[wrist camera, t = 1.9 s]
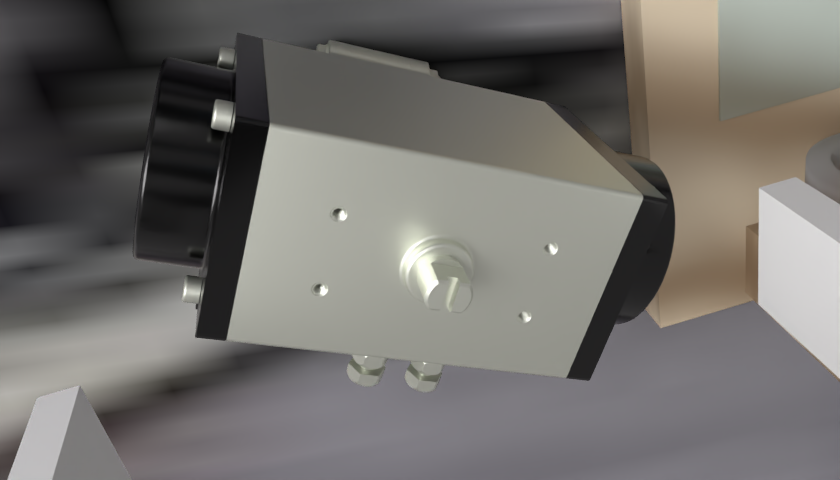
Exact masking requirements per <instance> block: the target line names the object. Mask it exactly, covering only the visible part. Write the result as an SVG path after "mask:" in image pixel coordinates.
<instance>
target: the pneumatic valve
mask: <svg viewBox="0 0 840 480" xmlns="http://www.w3.org/2000/svg"><path fill="white" fill-rule="evenodd" d="M674 238H675V207H674V200H673V195H672V192H671V188H670V185H669V183H668V180H667V178H666V176H665V175H664V173H663V172H662V170H661V169H660V168H659V167H658V166H657V165H656V164H655V163H654V162H652V161H651V160H649V159H648V158H645V157H641V156H636V155H631V154H627V153H622V152H617V151H613V150H612V149H611V148H610V147H609V146H608V145H607V144H606V143H605V142H603V141H602V140H601V139H600V138H599V137H598V136H597V135H596V134H595V133H593V132H592V131H591V130H590V129H589V128H588V127H587V126H586V125H585V124H583V123H582V122H581V121H580V120H579V119H578V118H577V117H576V116H575V115H573V114H572V113H571V112H570V111H569V110H568V109H567V108H566V107H565V106H561V105H556V104H552V103H547V102H543V101H538V100H534V99H529V98H525V97H521V96H516V95H512V94H507V93H503V92H498V91H494V90H489V89H485V88H481V87H476V86H472V85H467V84H463V83H458V82H454V81H449V80H445V79H441V78H440V76H438V72H437V71H436V70H432V69H430V68H429V64H428V62H424V61H420V60H416V59H411V58H407V57H402V56H398V55H394V54H389V53H385V52H381V51H376V50H372V49H368V48H363V47H359V46H355V45H350V44H346V43H342V42H337V41H333V40H329V41H328V44H325V45H322V44H318V45H317V48H316V50H311V49H307V48H303V47H298V46H294V45H289V44H285V43H280V42H276V41H271V40H267V39H263V38H258V37H254V36H249V35H245V34H240V33H237V36H236V42H235V47H234V49H231V48H226V47H221V48H220V51H219V57H218V63H217V67H213V66H208V65H203V64H199V63H194V62H189V61H185V60H180V59H175V58H171V57H167V58H165V59H164V60H163V62H162V65H161V69H160V73H159V77H158V81H157V86H156V91H155V96H154V101H153V106H152V112H151V117H150V123H149V129H148V135H147V141H146V147H145V153H144V159H143V166H142V173H141V179H140V186H139V194H138V201H137V209H136V217H135V226H134V236H133V257H134V258H135V259H136V260H141V261H149V262H156V263H163V264H171V265H178V266H186V267H193V268H199V277H197V276H190V275H187V276H186V277H185V281H184V287H183V293H182V301H183V302H187V303H195V304H196V309H198V310H197V322H196V333H195V337H196V338H205V339H214V340H223V341H225V340H226V341H232V342H241V343H251V344H260V345H269V346H278V347H287V348H296V349H305V350H314V351H323V352H332V353H341V354H351V355H352V356H353V359H352V360H351V361H350V362H349V364H348V368H347V373H348V376H349V378H350V379H351V380H352V381H353V382H354V383H356V384H358V385H361V386H366V387H371V386H375V385H377V384H378V383H379V382H380V380H381V378H382V376H383V374H384V370H385V366H384V365H385V363H386V361H387V359H396V360H405V361H411V364H410V366H409V367H408V369H407V371H406V374H405V380H406V382H407V384H408V385H409V386H410V387H411V388H413V389H415V390H417V391H420V392H432V391H434V390H435V389H436V387H437V385H438V383H439V381H440V378H441V375H442V373H441V372H442V370H443V368H444V366H445V365H451V366H460V367H469V368H478V369H487V370H496V371H505V372H514V373H523V374H532V375H542V376H551V377H560V378H569V379H578V380H587V381H589V380H590V378H591V376H592V374H593V372H594V369H595V367H596V365H597V363H598V360H599V358H600V356H601V354H602V351H603V349H604V347H605V345H606V342H607V340H608V338H609V336H610V333H611V331H612V329H613V327H614V324H622V323H625V322H628V321H630V320H632V319H634V318H635V317H637V316H638V315H639V314H640V313H641V312H642V311H643V310H644V309H645V308H646V307H647V306H648V305H649V304H650V302H651V301H652V300H653V298H654V297H655V295H656V293H657V292H658V290H659V288H660V286H661V284H662V282H663V280H664V277H665V275H666V272H667V269H668V266H669V263H670V259H671V255H672V250H673V245H674Z"/></svg>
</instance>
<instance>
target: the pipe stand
mask: <svg viewBox="0 0 840 480" xmlns="http://www.w3.org/2000/svg"><path fill="white" fill-rule="evenodd" d="M621 10H622V24H623V37H624V51H625V64H626V78H627V91H628V105H629V118H630V132H631V145H632V155H636V156H641V157H645V158H648V159H649V160H651V161H652V162H654V163H655V164H656V165H657V166H658V167H659V168H660V169H661V170H662V172H663V173H664V175H665V176H666V178H667V180H668V183H669V185H670V188H671V192H672V195H673V200H674V207H675V238H674V245H673V250H672V255H671V259H670V263H669V266H668V269H667V272H666V275H665V277H664V280H663V282H662V284H661V286H660V288H659V290H658V292H657V293H656V295H655V297H654V298H653V300H652V301H651V302H650V304H649V305H648V306H647V307H646V308H645V309H646V311H647V312H648V313H649V314H650V316H651V317H652V318H653V319H654V320H655V322H656V323H657V324H658V325H659V327H660V328H663V327H666V326H670V325H673V324H676V323H680V322H683V321H686V320H690V319H693V318H696V317H700V316H703V315H706V314H710V313H713V312H717V311H720V310H723V309H727V308H730V307H733V306H737V305H740V304H743V303H747V302H750V301H753V300H754V301H755V302H756V303H757V304H758V249H759V188H760V187H763V186H766V185H770V184H773V183H777V182H780V181H784V180H787V179H790V178H794V177H797V178H798V179H800V180H802V181H803V182H805V183H806V184H808V185H810V186H811V187H813V188H814V189H816V190H818V191H819V192H821V193H822V194H824V195H826V196H827V197H829V198H830V199H832V200H834V201H835V202H837V203H838V204H840V0H621ZM758 305H759V304H758ZM759 306H760V305H759ZM760 307H761V306H760ZM761 308H762V307H761ZM762 309H763V308H762ZM763 310H764V309H763ZM769 315H770V314H769ZM770 316H771V315H770ZM771 317H772V316H771ZM772 318H773V317H772ZM773 319H774V318H773ZM774 320H775V319H774ZM775 321H776V320H775ZM776 322H777V321H776ZM777 323H778V322H777ZM778 324H779V323H778ZM779 325H780V324H779ZM780 326H781V327H782V328H784V327H783V326H782V325H780ZM784 329H785V328H784ZM785 330H786V329H785ZM786 331H787V330H786ZM787 332H788V331H787ZM788 333H789V332H788ZM789 334H790V333H789ZM790 335H791V334H790ZM791 336H792V335H791ZM792 337H793V338H794V339H795V340H796V341H797V342H798V343H799V344H800V345H801V346H803V345H802V344H801V343H800V342H799V341H798V340H797V339H796V338H795V337H794V336H792ZM803 347H804V346H803ZM804 348H805V349H806V350H807V351H808V352H809V353H810V354H811V355H812V356H813V357H814V358H815V359H816V360H817V361H818V362H819V363H820V364H822V365H823V366H824V367H825V368H826V369H827V370H828V371H829V372H830V373H831V374H832V375H833V376H834V377H835V378H836V379H837V380H838V381H839V382H840V379H839V378H838V377H837V376H836V375H835V374H834V373H833V372H832V371H831V370H830V369H829V368H827V367H826V366H825V365H824V364H823V363H822V362H821V361H820V360H819V359H818V358H817V357H815V356H814V355H813V354H812V353H811V352H810V351H809V350H808V349H807V348H806V347H804Z"/></svg>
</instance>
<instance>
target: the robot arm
mask: <svg viewBox="0 0 840 480" xmlns="http://www.w3.org/2000/svg"><path fill="white" fill-rule="evenodd" d="M758 304H759V305H760V306H761V307H762V308H763V309H764V310H765V311H766V312H767V313H768V314H770V315H771V316H772V317H773V318H774V319H775V320H776V321H777V322H778V323H779V324H780V325H782V326H783V327H784V328H785V329H786V330H787V331H788V332H789V333H790V334H791V335H792V336H794V337H795V338H796V339H797V340H798V341H799V342H800V343H801V344H802V345H803V346H804V347H806V348H807V349H808V350H809V351H810V352H811V353H812V354H813V355H814V356H815V357H817V358H818V359H819V360H820V361H821V362H822V363H823V364H824V365H825V366H826V367H827V368H829V369H830V370H831V371H832V372H833V373H834V374H835V375H836V376H837V377H838V378H839V379H840V204H838V203H837V202H835V201H834V200H832V199H830V198H829V197H827V196H826V195H824V194H822V193H821V192H819V191H818V190H816V189H814V188H813V187H811V186H810V185H808V184H806V183H805V182H803V181H802V180H800V179H798V178H797V177H794V178H790V179H787V180H784V181H780V182H777V183H773V184H770V185H766V186H763V187H760V188H759V249H758ZM8 480H132V479H131V477H130V475H129V474H128V472H127V470H126V468H125V466H124V465H123V463H122V461H121V459H120V457H119V455H118V454H117V452H116V450H115V448H114V446H113V445H112V443H111V441H110V439H109V437H108V435H107V434H106V432H105V430H104V428H103V426H102V425H101V423H100V421H99V419H98V417H97V415H96V414H95V412H94V410H93V408H92V406H91V405H90V403H89V401H88V399H87V397H86V395H85V394H84V392H83V390H82V388H81V386H80V385H79V386H75V387H72V388H69V389H65V390H62V391H58V392H55V393H51V394H48V395H44V396H41V397H38V398H37V400H36V403H35V405H34V408H33V411H32V414H31V416H30V419H29V422H28V425H27V427H26V430H25V433H24V436H23V438H22V441H21V444H20V447H19V450H18V452H17V455H16V458H15V461H14V463H13V466H12V469H11V472H10V474H9V477H8Z"/></svg>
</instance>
